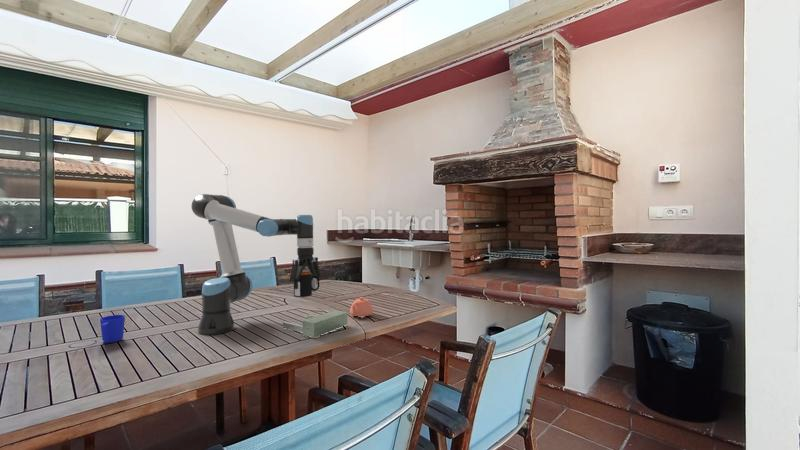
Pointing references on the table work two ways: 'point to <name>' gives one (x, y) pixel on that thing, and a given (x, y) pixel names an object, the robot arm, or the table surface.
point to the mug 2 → (306, 284)
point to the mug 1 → (112, 328)
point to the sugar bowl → (361, 307)
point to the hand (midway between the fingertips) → (306, 293)
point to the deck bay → (319, 323)
